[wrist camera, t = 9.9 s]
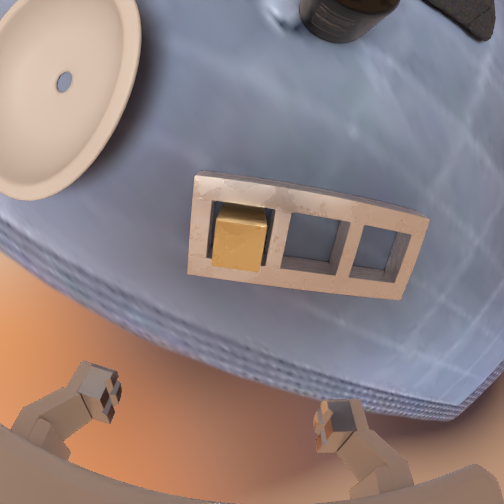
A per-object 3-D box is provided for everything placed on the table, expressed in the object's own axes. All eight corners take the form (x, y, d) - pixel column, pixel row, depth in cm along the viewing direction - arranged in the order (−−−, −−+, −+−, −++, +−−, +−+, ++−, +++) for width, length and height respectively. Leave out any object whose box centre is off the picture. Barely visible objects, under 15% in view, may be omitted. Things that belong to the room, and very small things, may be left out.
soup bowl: (49, 222, 29) (16, 243, 23) (-14, 87, 20) (-46, 89, 14) (209, 97, 24) (194, 88, 18) (114, -42, 15) (89, -64, 9)
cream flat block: (416, 210, 28) (430, 219, 25) (390, 286, 31) (400, 300, 29) (201, 170, 26) (194, 175, 24) (193, 260, 30) (187, 274, 28)
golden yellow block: (264, 206, 28) (267, 227, 22) (258, 244, 30) (259, 272, 24) (224, 201, 28) (216, 220, 22) (219, 238, 29) (211, 265, 24)
